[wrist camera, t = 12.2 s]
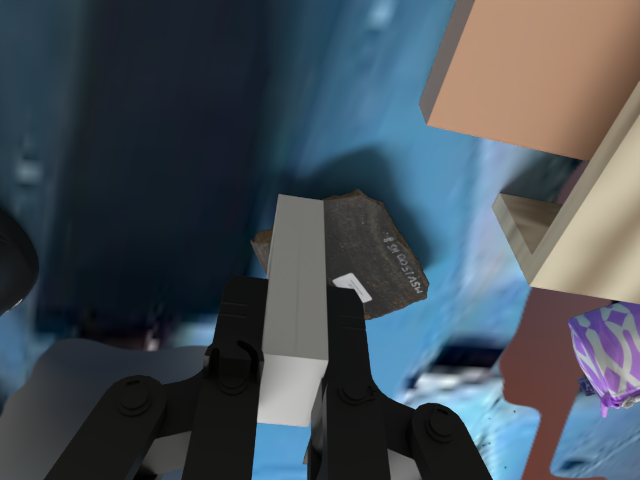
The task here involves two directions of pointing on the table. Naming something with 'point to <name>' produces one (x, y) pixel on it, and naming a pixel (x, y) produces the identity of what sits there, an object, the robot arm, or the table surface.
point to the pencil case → (609, 353)
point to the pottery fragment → (364, 254)
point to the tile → (535, 72)
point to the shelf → (586, 222)
